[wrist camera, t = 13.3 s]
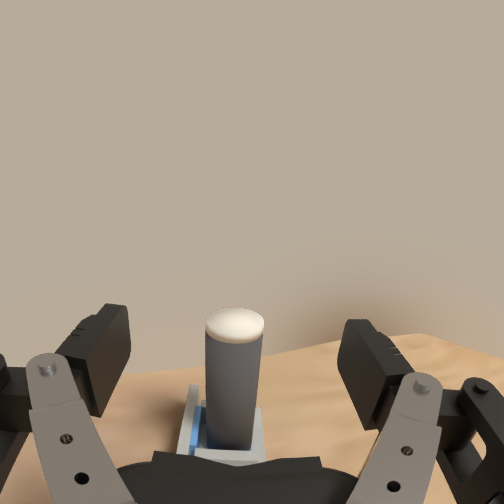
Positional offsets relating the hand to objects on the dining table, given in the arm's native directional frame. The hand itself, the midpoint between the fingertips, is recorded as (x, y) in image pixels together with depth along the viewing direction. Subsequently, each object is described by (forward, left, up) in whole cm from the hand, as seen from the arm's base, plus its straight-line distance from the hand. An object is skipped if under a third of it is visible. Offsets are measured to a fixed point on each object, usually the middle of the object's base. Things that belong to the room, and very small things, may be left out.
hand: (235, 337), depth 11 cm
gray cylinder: (0, +12, -20) cm, 23 cm away
